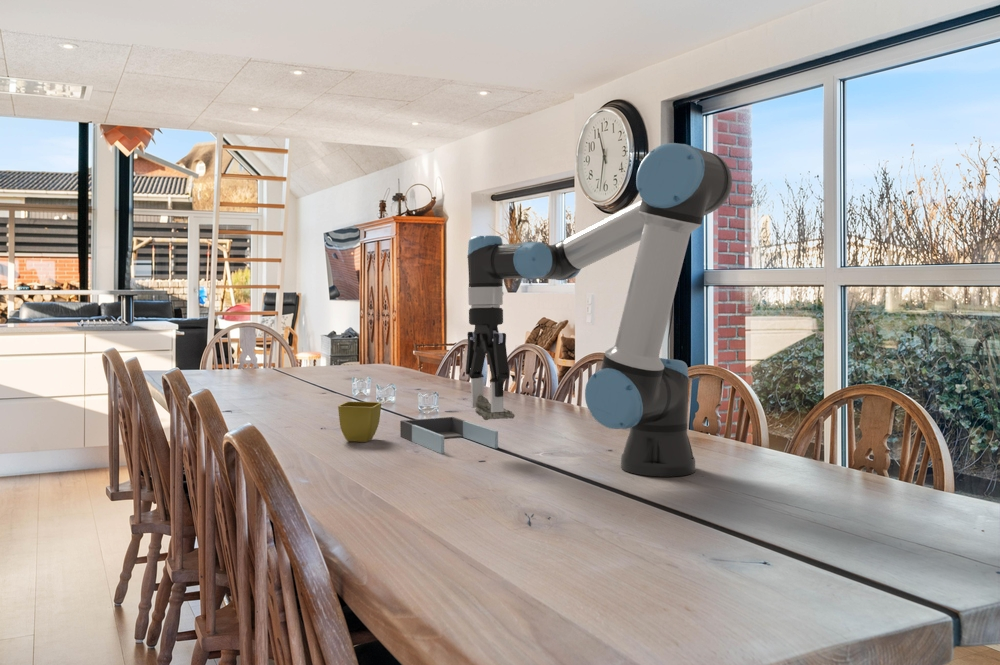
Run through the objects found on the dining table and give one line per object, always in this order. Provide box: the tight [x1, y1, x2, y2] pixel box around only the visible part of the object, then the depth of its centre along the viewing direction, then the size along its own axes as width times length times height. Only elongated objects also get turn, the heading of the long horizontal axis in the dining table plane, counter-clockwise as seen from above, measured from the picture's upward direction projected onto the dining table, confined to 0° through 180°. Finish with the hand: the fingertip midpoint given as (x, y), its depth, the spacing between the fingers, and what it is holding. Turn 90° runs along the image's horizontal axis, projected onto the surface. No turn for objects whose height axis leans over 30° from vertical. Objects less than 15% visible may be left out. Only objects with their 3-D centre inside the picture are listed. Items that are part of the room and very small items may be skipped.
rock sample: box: [474, 394, 515, 421], centre depth 181 cm, size 10×8×9 cm
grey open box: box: [399, 416, 466, 442], centre depth 207 cm, size 8×15×4 cm, turn 119°
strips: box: [411, 420, 499, 455], centre depth 196 cm, size 17×15×4 cm
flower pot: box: [337, 401, 383, 443], centre depth 201 cm, size 9×9×9 cm
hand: (487, 409), depth 181 cm, fingers closed on rock sample, 9 cm apart
